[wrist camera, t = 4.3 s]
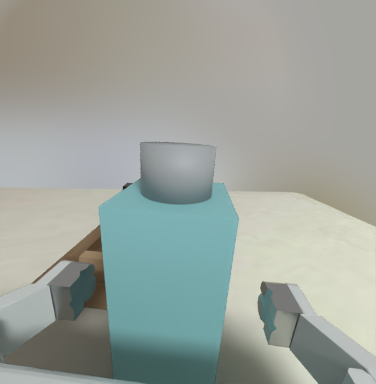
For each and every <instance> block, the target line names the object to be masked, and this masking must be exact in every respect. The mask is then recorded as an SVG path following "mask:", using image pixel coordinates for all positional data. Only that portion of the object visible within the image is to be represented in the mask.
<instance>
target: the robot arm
mask: <svg viewBox="0 0 376 384" xmlns="http://www.w3.org/2000/svg"><path fill="white" fill-rule="evenodd" d="M94 272H95V265H94V264H92V263H84V262H76V261H67V260H63V261H60V262H59V263H58V264H57V265H56V266H55V267H53V268H52V269H51V270H50V271H49V272H48V273H47V274H45V275H44V276H43V277H42V278H41V279H40V280H38V281H37V282H36V283H35V284H29V285H27V286H24V287H22V288H20V289H17V290H15V291H13V292H10V293H8V294H6V295H3V296H1V297H0V384H145V383H138V382H131V381H124V380H117V379H110V378H103V377H96V376H89V375H82V374H75V373H68V372H61V371H54V370H47V369H40V368H33V367H26V366H19V365H11V364H5V363H4V360H3V358H4V357H5V356H7V355H8V354H10V353H11V352H12V351H14V350H15V349H17V348H18V347H19V346H21V345H22V344H24V343H25V342H26V341H28V340H29V339H31V338H32V337H33V336H35V335H36V334H37V333H39V332H40V331H42V330H43V329H44V328H46V327H47V326H49V325H50V324H51V323H53V322H54V321H56V319H60V320H71V321H75V320H76V318H77V317H78V316H79V314H80V313H81V311H82V310H83V309H84V303H85V302H86V301H88V300H90V298H91V297H92V295H93V294H94V291H95V289H96V283H97V281H96V277H95V276H94V275H93V273H94ZM260 289H261V292H262V293H261V294H260V295H259V297H258V312H259V316H260V319H261V320H262V321H263V322H264V328H263V329H264V332H265V336H266V339H267V342H268V345H273V346H280V347H286V348H290V350H291V351H292V353H293V354H294V355H295V356H296V357H297V359H298V360H299V361H300V362H301V363H302V365H303V366H304V367H305V368H306V369H307V371H308V372H309V373H310V374H311V375H312V377H313V378H314V379H315V380H316V381H317V383H318V384H376V357H375V356H374V355H372V354H371V353H370V352H368V351H367V350H366V349H364V348H363V347H362V346H360V345H359V344H358V343H356V342H355V341H354V340H352V339H351V338H350V337H348V336H347V335H346V334H344V333H343V332H342V331H340V330H339V329H338V328H337V327H335V326H334V325H333V324H331V323H330V322H329V321H327V320H326V319H325V318H323V317H322V316H318V315H317V314H316V312H315V311H314V309H313V308H312V306H311V305H310V303H309V301H308V300H307V298H306V297H305V295H304V294H303V292H302V291H301V289H300V287H299V286H298V285H297V284H289V283H285V284H284V283H275V282H265V281H263V282H262V283H261V287H260Z"/></svg>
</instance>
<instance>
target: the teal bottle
mask: <svg viewBox="0 0 376 384" xmlns="http://www.w3.org/2000/svg"><path fill="white" fill-rule="evenodd" d="M215 156H216V147H215V146H210V145H200V144H188V143H169V142H141V143H140V162H141V178H140V179H139V180H137V181H136V182H134V183H133V184H131V185H130V186H128V187H127V188H126V189H124V190H123V191H121V192H120V193H118V194H117V195H115V196H114V197H112V198H111V199H109V200H108V201H106V202H105V203H103V204H102V205H100V206H99V218H100V229H101V241H102V252H103V264H104V275H105V287H106V298H107V310H108V321H109V333H110V344H111V356H112V367H113V379H117V380H124V381H131V382H138V383H145V384H215V377H216V371H217V364H218V357H219V350H220V343H221V337H222V330H223V323H224V316H225V309H226V303H227V296H228V289H229V282H230V275H231V269H232V262H233V255H234V248H235V241H236V235H237V228H238V221H239V218H238V215H237V213H236V211H235V208H234V206H233V204H232V201H231V199H230V196H229V194H228V192H227V189H226V187H225V185H224V183H213V176H214V166H215Z"/></svg>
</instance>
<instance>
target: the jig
mask: <svg viewBox="0 0 376 384" xmlns="http://www.w3.org/2000/svg"><path fill="white" fill-rule="evenodd" d="M63 260H67V261H76V262H84V263H92V264H94V265H95V272H94V273H93V275H94V276H95V277H96V281H97V283H96V289H95V291H94V294H93V295H92V297H91V298H90V300H88V301H86V302H85V303H84V307H90V308H98V309H107V298H106V287H105V275H104V264H103V252H102V241H101V229H100V225H99V226H98V227H97V228H96V229H94V230H93V231H92V232H91V233H90V234H89V235H87V236H86V237H85V238H84V239H83V240H82V241H80V242H79V243H78V244H77V245H76V246H74V247H73V248H72V249H71V250H70V251H69V252H67V253H66V254H65V255H64V256H63V257H62V258H60V259H59V260H58V261H57V262H56V263H55V264H53V265H52V266H51V267H50V268H49V269H48V270H46V271H45V272H44V273H43V274H42V275H41V276H39V277H38V278H37V279H36V280H35V281H34V282H32V283H31V284H35V283H36V282H37V281H38V280H40V279H41V278H42V277H43V276H44V275H45V274H47V273H48V272H49V271H50V270H51V269H52V268H53V267H55V266H56V265H57V264H58V263H59V262H60V261H63Z"/></svg>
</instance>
